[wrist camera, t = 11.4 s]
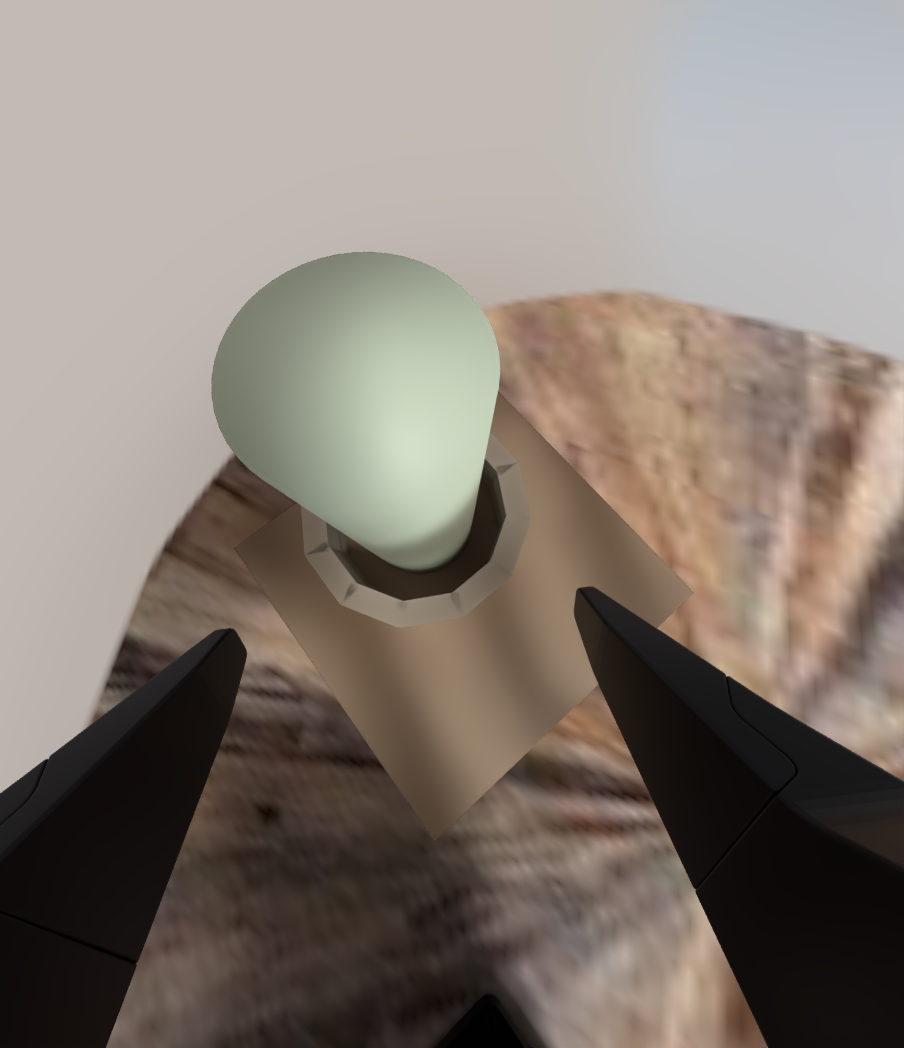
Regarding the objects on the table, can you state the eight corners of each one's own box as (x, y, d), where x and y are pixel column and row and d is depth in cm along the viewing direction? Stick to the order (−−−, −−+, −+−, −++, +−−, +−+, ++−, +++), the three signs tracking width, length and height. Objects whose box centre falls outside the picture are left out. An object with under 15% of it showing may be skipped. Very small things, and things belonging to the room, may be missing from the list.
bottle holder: (435, 824, 16) (428, 899, 12) (247, 552, 19) (190, 536, 15) (678, 593, 18) (744, 589, 14) (476, 383, 21) (481, 328, 17)
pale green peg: (453, 587, 17) (449, 543, 5) (357, 556, 17) (159, 453, 6) (482, 493, 18) (532, 287, 6) (391, 466, 19) (282, 227, 7)
